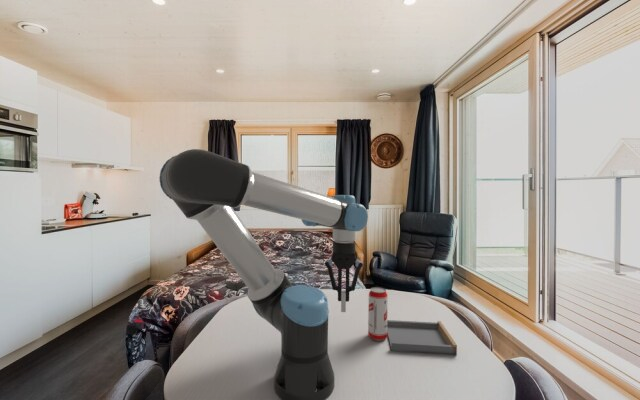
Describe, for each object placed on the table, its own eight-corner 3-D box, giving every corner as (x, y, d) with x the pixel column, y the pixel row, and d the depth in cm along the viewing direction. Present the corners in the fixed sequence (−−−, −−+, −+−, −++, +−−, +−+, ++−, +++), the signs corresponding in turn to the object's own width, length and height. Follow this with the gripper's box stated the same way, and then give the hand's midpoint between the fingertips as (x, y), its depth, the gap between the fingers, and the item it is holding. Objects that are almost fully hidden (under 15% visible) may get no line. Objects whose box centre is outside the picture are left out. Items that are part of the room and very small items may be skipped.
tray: (456, 355, 86) (456, 345, 86) (391, 350, 88) (391, 341, 88) (440, 329, 102) (440, 321, 102) (385, 326, 104) (385, 318, 104)
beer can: (385, 333, 99) (386, 286, 99) (388, 342, 93) (389, 293, 93) (367, 332, 100) (368, 286, 99) (368, 341, 94) (369, 292, 93)
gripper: (363, 239, 100) (362, 307, 101) (325, 238, 101) (325, 305, 102) (364, 243, 92) (363, 316, 93) (323, 242, 94) (323, 314, 94)
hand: (343, 310), depth 98 cm, fingers closed
